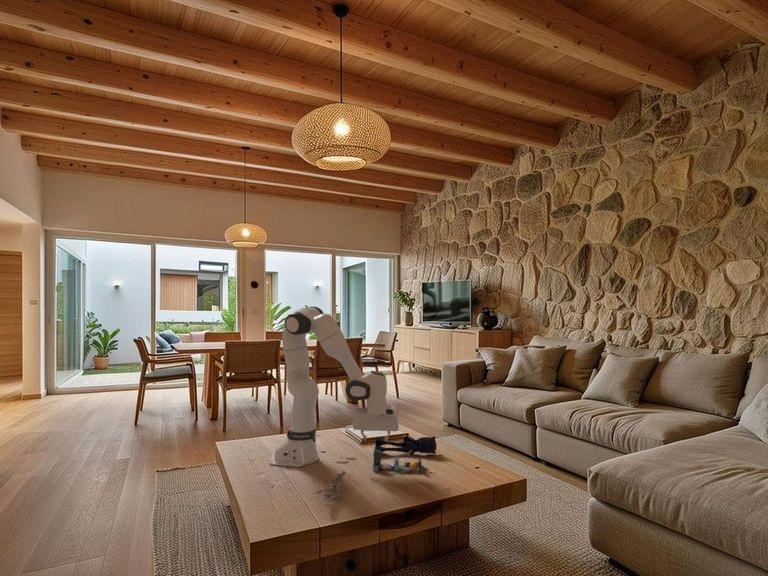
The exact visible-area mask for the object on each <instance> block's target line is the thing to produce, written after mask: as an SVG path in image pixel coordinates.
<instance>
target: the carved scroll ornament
mask: <svg viewBox="0 0 768 576" xmlns="http://www.w3.org/2000/svg"><path fill="white" fill-rule="evenodd" d="M345 475H346V471H345V470H344V471H343V470H342V473H339V474H337V475H336V478H334V479H331V480H330V485H329V487H327V489H326V490H324V495H325V497H324V501H325V503H324V505H325V506H330V504H331V502H332V500H334V499H336V500H337V499H339V498H340V497H341V494H340V492H339V490H340V486H341V485H342V483H343V480H344V476H345Z"/></svg>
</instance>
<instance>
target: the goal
mask: <svg viewBox="0 0 768 576" xmlns="http://www.w3.org/2000/svg"><path fill="white" fill-rule="evenodd" d="M411 462H412V461H405V462H404V465H405V467H410V463H411ZM416 462H417V464H418V467H419V469H405V473H422V466H421V465H422V459H421V453H420V454H418V455H417V461H416Z"/></svg>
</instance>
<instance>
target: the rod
mask: <svg viewBox="0 0 768 576" xmlns="http://www.w3.org/2000/svg"><path fill="white" fill-rule="evenodd" d="M393 459H394V461H393V462H394V464H393V463H389V464H388V463H385V464H382V453H381V450H375V449H373V464H372V470H374V465H379V471H380V472H381V471H382V470H392V469H394V471H399V465H400V457H399V456H394V458H393Z"/></svg>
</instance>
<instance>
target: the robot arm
mask: <svg viewBox="0 0 768 576" xmlns="http://www.w3.org/2000/svg"><path fill="white" fill-rule="evenodd" d="M309 332H311V333H312V334H314V335H315V336H316V338H317V341H318V342H319V344H320V346H321V349H323V351H324V353H326V355H327V356H329V357H332V358H334V359H336V360H337V361H338V362H340V364H341V365H342V368H343V369H344V371H345V372H346V374H347V377H348V378H349V382H348V383H347V384H346V386H345V395H346V396H347V398H348V399H349V400H351V401H355V402H357V401H365V400H366V407H362V408H361V407H360V408H359V407H357V408H356V407H355V408H354V409H353V411H352V418H353V423H352V429H353V430H355V431H360V434H361V436H362V440H363V441H367V437H368V436H367V435H365V431H375V432H376V431H377V432H378V431H379V432H381V431H382V432H386V433H387V434H386V435H384V439H383V440H384V441H386V442H389V439H388V438H389V437H390V435H391V432H398V431H399V426H400V423H399V417H398V414H397V408H396V407H395V406H393V405H390V404H388V403H387V393H388V379H387V376H386V375H385V373H383V372H381V371H377V370H370V371H369V372H367V373H364V372H363V371H362V369H361V368H360V366H359V364H358V362H357V361H356V359H355V358H354V355H353V354H352V352H351V349H350V347H349V344H348V343H347V340H346V337H345V335H344V334H343V331H342V330H341V328H340V326H339V324H338V323H337V321H336V319H335V318H334V317H333V316H332V315H331V314H330V313H324V311H323V310H322V309H321V308H320V307H318V306H309V307H308V306H307V307H303V308H300V309H297V310H295V311H292V312H290V313H289V314H288V315H286V317H285V319H284V328H283V329H282V332H281V335H282V336H281V338H282V340H281V341H282V350H283V355H284V360H285V366H286V381H287V385H286V386H287V390H288V393H289V394H290V395H291V396H292V397H293V404H292V409H291V412H290V427H288V429H287V431H286V437H287V438H285V439H284V440H282V441H281V442H280V443H279V444H278V445H277V446H276V447H275V452H274V454H273V455H272V456H271V457H270V459H269V465H271V466H284V467H295V468H296V467H297V468H299V467H300V468H301V467H304V466H305V465H309V464H313V463H315V462H317V461H319V458H320V457H319V454H318V450H317V442H316V440H317V429H316V420H315V419H316V414H315V413H316V407H317V406H316V405H317V399H318V396H319V394H320V389H319V386H318V384H317V382H316V381H315V380H314V379H312V378H311V375H310V364H311V360H310V355H309V349H308V343H307V339H306V338H307V337H306V336H307V334H309Z"/></svg>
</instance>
